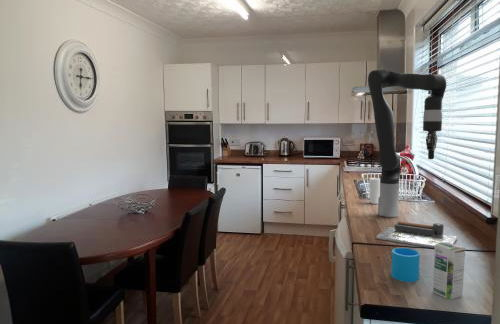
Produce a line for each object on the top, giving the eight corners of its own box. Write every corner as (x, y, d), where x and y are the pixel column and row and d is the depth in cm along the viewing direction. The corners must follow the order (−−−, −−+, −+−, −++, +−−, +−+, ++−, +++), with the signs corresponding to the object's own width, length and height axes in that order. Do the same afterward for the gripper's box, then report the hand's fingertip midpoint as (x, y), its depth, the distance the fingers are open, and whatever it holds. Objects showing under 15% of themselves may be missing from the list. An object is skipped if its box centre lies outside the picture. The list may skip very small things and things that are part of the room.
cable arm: (444, 232, 164) (444, 223, 164) (442, 236, 159) (442, 226, 159) (397, 226, 175) (398, 217, 174) (394, 229, 170) (394, 220, 170)
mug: (422, 282, 118) (423, 257, 117) (394, 281, 119) (394, 256, 118) (411, 268, 130) (412, 244, 129) (386, 267, 131) (387, 243, 130)
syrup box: (431, 292, 111) (433, 243, 110) (445, 288, 114) (447, 240, 112) (449, 300, 106) (451, 249, 105) (463, 296, 109) (466, 246, 107)
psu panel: (376, 238, 162) (376, 235, 162) (388, 228, 177) (388, 226, 177) (450, 250, 146) (450, 247, 146) (457, 238, 161) (457, 236, 160)
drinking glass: (380, 202, 232) (381, 178, 230) (380, 205, 226) (381, 179, 224) (369, 202, 234) (369, 177, 233) (368, 204, 228) (369, 179, 226)
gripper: (439, 120, 163) (437, 160, 165) (444, 120, 174) (442, 158, 176) (420, 120, 168) (418, 160, 170) (426, 120, 178) (425, 157, 180)
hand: (430, 159), depth 173 cm, fingers closed
